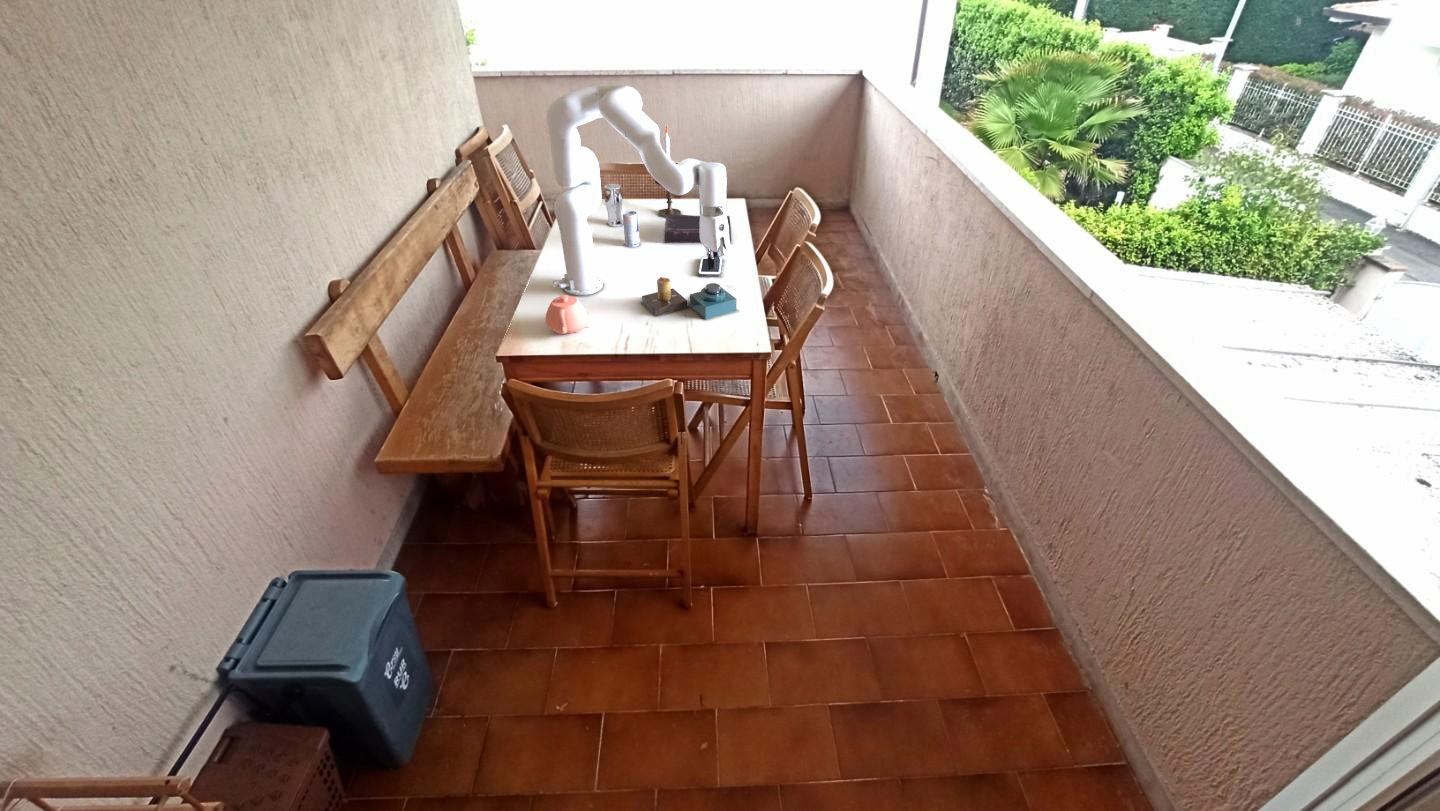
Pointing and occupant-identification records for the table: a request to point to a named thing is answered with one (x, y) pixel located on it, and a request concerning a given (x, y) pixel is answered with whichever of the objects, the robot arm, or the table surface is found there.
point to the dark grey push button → (712, 289)
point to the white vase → (613, 204)
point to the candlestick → (669, 210)
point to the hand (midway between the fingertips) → (713, 269)
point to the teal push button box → (712, 303)
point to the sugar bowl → (566, 315)
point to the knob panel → (664, 303)
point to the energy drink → (631, 228)
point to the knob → (664, 289)
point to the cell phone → (704, 268)
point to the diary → (685, 229)
